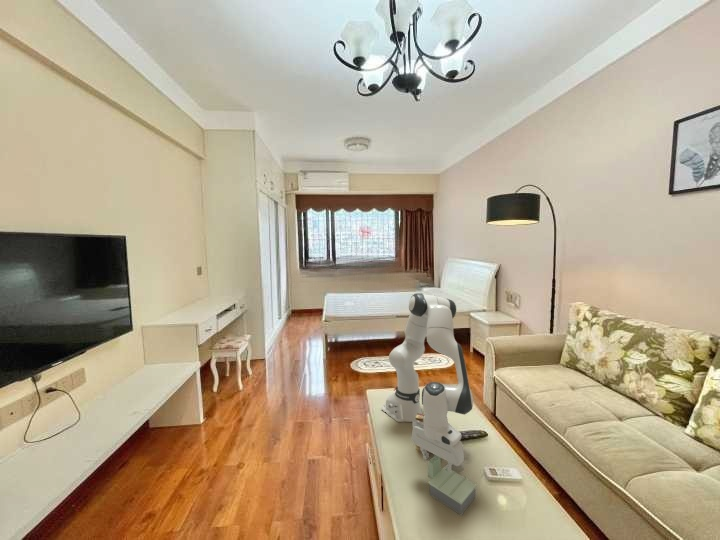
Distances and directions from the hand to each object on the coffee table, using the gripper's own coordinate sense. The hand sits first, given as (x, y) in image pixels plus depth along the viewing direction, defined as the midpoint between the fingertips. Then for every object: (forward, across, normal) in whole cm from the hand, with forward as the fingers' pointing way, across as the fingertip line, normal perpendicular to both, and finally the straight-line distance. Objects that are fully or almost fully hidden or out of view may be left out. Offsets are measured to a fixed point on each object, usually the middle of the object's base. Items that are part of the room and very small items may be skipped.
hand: (436, 464), depth 113 cm
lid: (+4, +6, -1) cm, 8 cm away
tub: (+9, +6, -1) cm, 11 cm away
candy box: (+9, -14, +15) cm, 22 cm away
